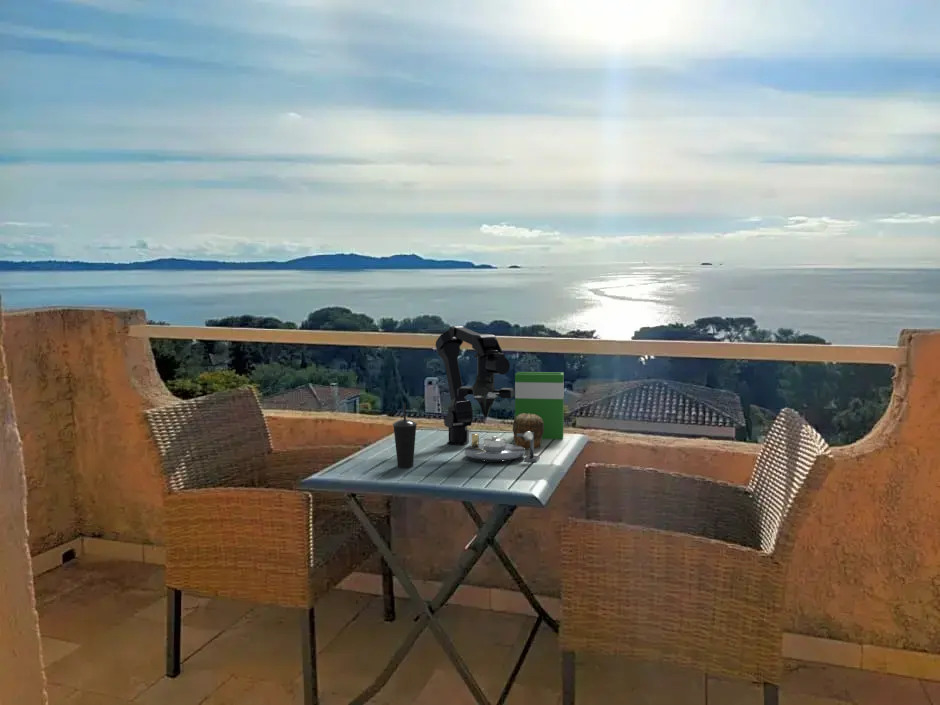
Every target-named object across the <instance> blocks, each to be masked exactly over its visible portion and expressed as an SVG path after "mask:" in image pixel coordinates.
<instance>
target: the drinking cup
mask: <svg viewBox="0 0 940 705" xmlns="http://www.w3.org/2000/svg"><path fill="white" fill-rule="evenodd" d="M406 408H407V406H406V403H403V419H399V420H397V421H395V422H393V423H392V426H393V434H394V444H395V453H396V460H397V462H396V464H397V468H400V469H401V468H402V469H410V468H413V467H414V461H415V460H414V459H415V448H416V447H415V446H416V445H415V444H416V436H417V435H416V430H417V426H418V423H417V422H415V421H413V420H412V419H411V420H410V419H407V413H406V412H407V409H406Z"/></svg>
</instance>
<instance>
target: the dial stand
mask: <svg viewBox="0 0 940 705" xmlns="http://www.w3.org/2000/svg"><path fill="white" fill-rule="evenodd" d="M517 436H519V437H524V439H525V440H526V441H530V449H529V454H527V455H526V456H525V457H524V459H523V462H526V461H532V462H531V463H537V462H539V460H540V455H535V449H534V433H533V432H530V431H527V432H525V433H524V434H517Z"/></svg>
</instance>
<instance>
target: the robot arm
mask: <svg viewBox="0 0 940 705" xmlns="http://www.w3.org/2000/svg"><path fill="white" fill-rule="evenodd" d="M464 342H465V343H466V344H469V345H471V348H472V349H473V350H474V351H476V353H475V354H474V355H473V357H474V358H476V367H477V370H476V374H477V375H476V378H475V382H474V383H473V385H472V386H467V385H466V386H463V383H462V377H461V370H460V367H459V359H458V358H459V355H460V352H461V346H462V344H464ZM435 348H436V351H437V355H438V356H439V357H440V359H441V360H442V362H444V369H445V373H446V380H447V385H448V391H449V396H450V402H449V405H448V408H447V410H448V413H447V415H446V416H445V419H444V420H443V423H444V427H447V428H448V441H447V442H446V444H447V445H448V444H449V445H465V444H467V443H469V441H470V430H469V429H468V427H469V426H472V423H473V417H474V410H473V407H472V401H471V400H468V399H467V398H466V397H467V396H468V395H472V396H473V400H476V401H477V402H478V404H479V406H480V409H481V412H482V415H483V417H484V418H485V419H486V418H488V416H489V414H490V412H491V409H492V406H493V405H494V402H495V400H497V399H498V398H499V397H500V398H501V399H511V398H515V388H513V387H502V388H500V389H496V386H495V376H496V375H506V374H507V373H509V370H510V367H511V363H510V362H509V359H508V358H507V357H505V356H506V354H505V353H503V351H502V350H503V349H502V347H501V346H500V344H499V341H498V339H497V336H495V335H494V334H492V333H490V334H489V333H478V332H476V331H474V330H471V329H469V328H467V327H465V326H463V325H454V326H453V325H452V326H450V327H449V329H448V330H446V331H445V332H443V333H442V334H440V335H439V337H438V338H437V339H436V341H435Z"/></svg>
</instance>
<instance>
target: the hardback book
mask: <svg viewBox="0 0 940 705" xmlns="http://www.w3.org/2000/svg"><path fill="white" fill-rule="evenodd" d="M564 374H565V373H564V372H563V371H562V372H559V371H558V372H555V371H554V372H553V371H552V372H550V371H548V372H546V371H543V372H542V371H534V372H533V371H517V372H516V373H514V416H515V417H514V419H515V418H516V417H517V416H518V415H520V414H522V413H525V414H528V413H529V414H535V415H538V416H539V417H541V418H542V420H543V423H544V433H543V435H542V438H541V440H563V439H564V431H565V429H564V426H565V425H564V419H565V418H564V417H565V416H564V414H565V413H564V410H565V408H564V405H565V404H564V403H565V402H564V398H565V397H564V395H565V391H564V390H565V389H564V387H565V385H564V380H565V379H564V378H565V375H564Z"/></svg>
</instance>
